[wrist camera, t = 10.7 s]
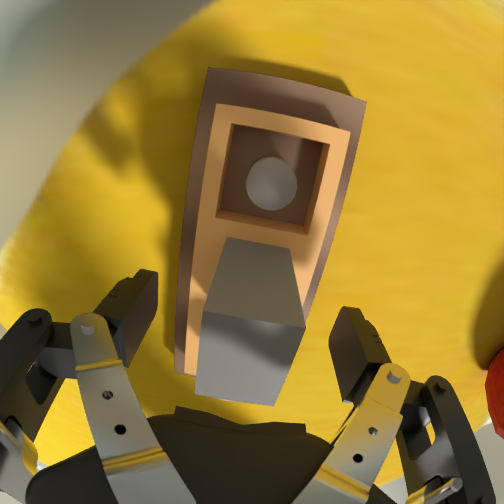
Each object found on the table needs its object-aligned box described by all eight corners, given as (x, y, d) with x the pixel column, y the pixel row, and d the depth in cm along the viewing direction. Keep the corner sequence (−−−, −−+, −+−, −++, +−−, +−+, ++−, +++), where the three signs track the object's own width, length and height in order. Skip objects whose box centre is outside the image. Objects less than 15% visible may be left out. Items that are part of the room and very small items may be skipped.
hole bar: (272, 372, 19) (273, 464, 12) (188, 357, 19) (163, 447, 12) (341, 132, 12) (418, 133, 6) (221, 106, 12) (175, 76, 5)
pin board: (278, 376, 21) (280, 438, 15) (178, 359, 21) (159, 418, 15) (357, 104, 13) (408, 90, 8) (213, 73, 13) (184, 39, 7)
